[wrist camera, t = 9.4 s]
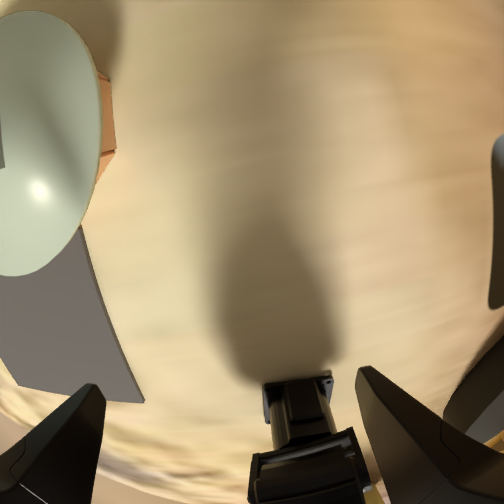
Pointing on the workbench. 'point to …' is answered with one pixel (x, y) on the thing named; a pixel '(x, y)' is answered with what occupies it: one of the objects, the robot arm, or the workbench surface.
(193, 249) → the workbench surface
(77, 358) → the mat
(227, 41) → the workbench surface
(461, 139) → the workbench surface
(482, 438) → the chair
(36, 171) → the pale green round piece
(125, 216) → the workbench surface
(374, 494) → the potted cactus
